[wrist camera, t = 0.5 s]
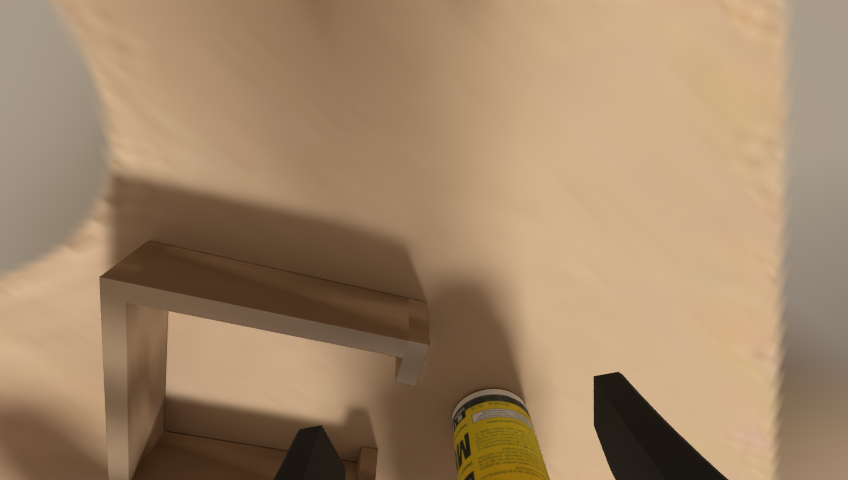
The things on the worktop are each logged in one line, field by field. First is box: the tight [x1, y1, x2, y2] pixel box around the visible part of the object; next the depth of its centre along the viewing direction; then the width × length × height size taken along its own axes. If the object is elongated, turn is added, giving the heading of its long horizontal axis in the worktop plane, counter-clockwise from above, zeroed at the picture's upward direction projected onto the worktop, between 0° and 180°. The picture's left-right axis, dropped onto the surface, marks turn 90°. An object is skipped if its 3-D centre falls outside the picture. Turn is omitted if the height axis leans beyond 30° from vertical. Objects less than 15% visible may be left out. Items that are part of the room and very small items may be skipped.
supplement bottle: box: [452, 389, 550, 480], centre depth 22 cm, size 5×5×8 cm
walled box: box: [100, 241, 430, 480], centre depth 22 cm, size 14×14×4 cm
